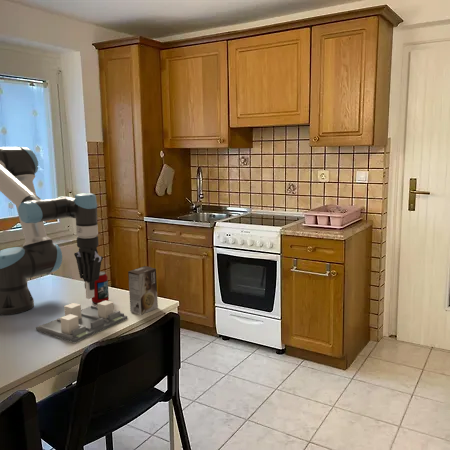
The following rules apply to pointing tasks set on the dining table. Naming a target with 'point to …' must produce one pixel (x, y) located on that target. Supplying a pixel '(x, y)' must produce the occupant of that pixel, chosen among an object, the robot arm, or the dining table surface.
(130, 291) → the coffee box
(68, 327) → the beige block
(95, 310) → the switch board
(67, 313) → the beige block
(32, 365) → the dining table surface
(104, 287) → the beverage can
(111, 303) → the cream white block
